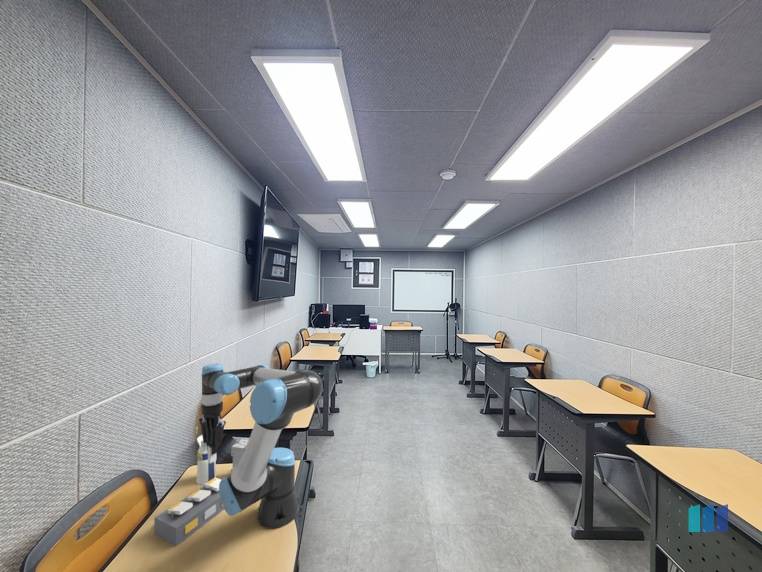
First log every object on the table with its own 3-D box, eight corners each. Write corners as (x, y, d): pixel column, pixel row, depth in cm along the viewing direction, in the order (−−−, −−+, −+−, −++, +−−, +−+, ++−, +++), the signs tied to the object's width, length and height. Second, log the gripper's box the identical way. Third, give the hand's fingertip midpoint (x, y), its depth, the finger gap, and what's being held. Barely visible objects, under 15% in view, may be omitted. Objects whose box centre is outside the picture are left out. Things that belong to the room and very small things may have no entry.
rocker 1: (192, 506, 105) (192, 502, 105) (180, 514, 101) (179, 510, 101) (180, 505, 107) (180, 501, 107) (167, 513, 103) (167, 509, 103)
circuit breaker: (258, 484, 129) (259, 449, 129) (230, 480, 131) (231, 446, 132) (268, 473, 136) (268, 441, 136) (241, 470, 139) (242, 438, 139)
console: (237, 499, 119) (237, 480, 119) (176, 546, 97) (177, 523, 97) (216, 491, 124) (216, 473, 124) (154, 534, 102) (154, 512, 102)
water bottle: (203, 487, 126) (204, 429, 127) (191, 481, 130) (192, 425, 131) (221, 476, 134) (221, 421, 135) (209, 471, 138) (209, 418, 138)
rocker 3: (226, 484, 118) (226, 481, 118) (217, 491, 113) (217, 488, 114) (214, 480, 120) (215, 477, 120) (204, 486, 116) (204, 483, 116)
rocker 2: (210, 493, 111) (210, 490, 111) (199, 501, 107) (199, 497, 107) (198, 493, 114) (198, 489, 114) (187, 500, 110) (187, 496, 110)
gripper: (231, 401, 120) (231, 459, 119) (210, 397, 125) (209, 453, 124) (215, 408, 113) (214, 470, 112) (192, 403, 118) (192, 462, 117)
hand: (212, 461), depth 118 cm, fingers closed
